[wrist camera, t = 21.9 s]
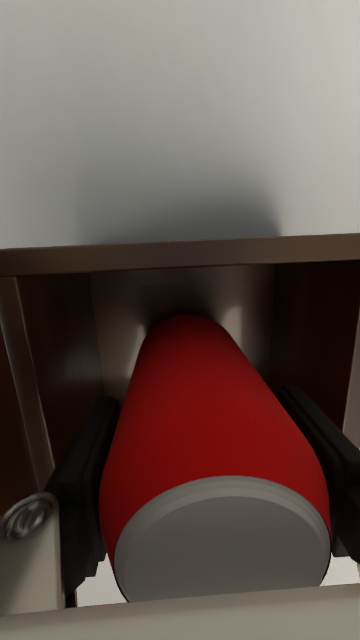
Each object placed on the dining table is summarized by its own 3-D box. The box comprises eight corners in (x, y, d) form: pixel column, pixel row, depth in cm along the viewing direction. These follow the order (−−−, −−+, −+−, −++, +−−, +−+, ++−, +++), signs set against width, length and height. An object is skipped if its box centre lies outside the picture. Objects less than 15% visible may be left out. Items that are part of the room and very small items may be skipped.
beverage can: (182, 289, 16) (216, 392, 4) (253, 350, 17) (427, 556, 6) (120, 361, 17) (17, 596, 5) (192, 413, 18) (231, 697, 7)
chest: (284, 240, 17) (396, 231, 9) (273, 418, 21) (345, 535, 12) (75, 249, 17) (-19, 249, 8) (101, 429, 21) (53, 557, 12)
